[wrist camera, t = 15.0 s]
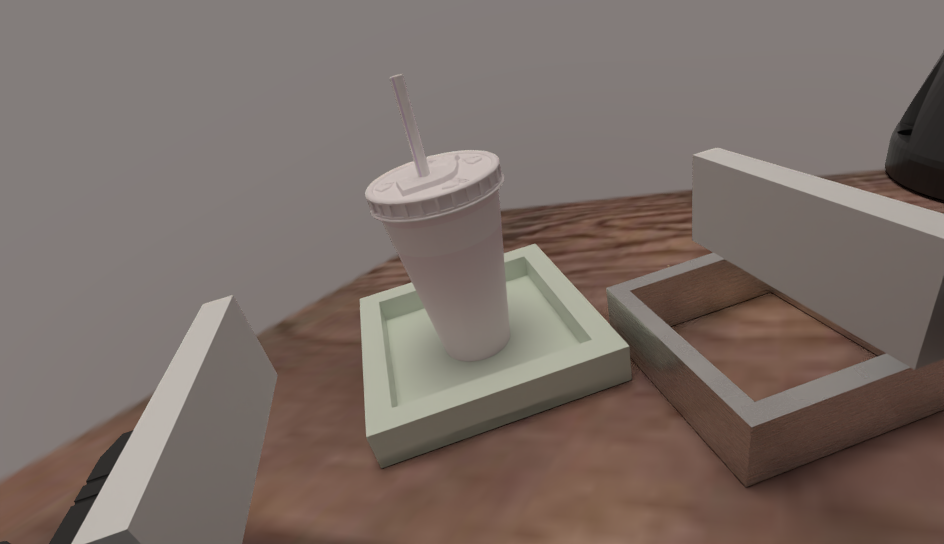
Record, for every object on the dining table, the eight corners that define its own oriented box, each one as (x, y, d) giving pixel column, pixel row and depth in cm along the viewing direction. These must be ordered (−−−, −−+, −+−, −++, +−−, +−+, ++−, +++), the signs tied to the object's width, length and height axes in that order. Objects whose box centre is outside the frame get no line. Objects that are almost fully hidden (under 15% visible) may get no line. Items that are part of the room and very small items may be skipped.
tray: (539, 269, 32) (535, 243, 31) (631, 379, 22) (629, 346, 21) (369, 323, 31) (359, 298, 30) (381, 468, 21) (366, 437, 20)
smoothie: (399, 369, 25) (294, 103, 19) (454, 301, 30) (386, 68, 23) (507, 389, 22) (429, 78, 15) (550, 310, 27) (504, 44, 20)
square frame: (772, 280, 26) (777, 231, 24) (976, 396, 17) (1003, 332, 16) (611, 335, 25) (606, 288, 23) (745, 487, 16) (751, 427, 15)
